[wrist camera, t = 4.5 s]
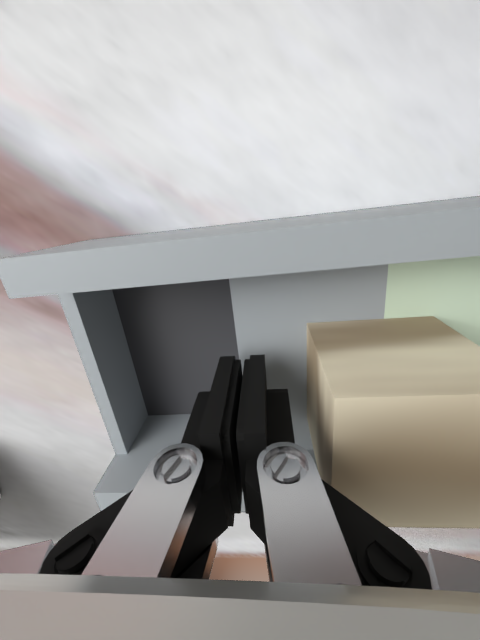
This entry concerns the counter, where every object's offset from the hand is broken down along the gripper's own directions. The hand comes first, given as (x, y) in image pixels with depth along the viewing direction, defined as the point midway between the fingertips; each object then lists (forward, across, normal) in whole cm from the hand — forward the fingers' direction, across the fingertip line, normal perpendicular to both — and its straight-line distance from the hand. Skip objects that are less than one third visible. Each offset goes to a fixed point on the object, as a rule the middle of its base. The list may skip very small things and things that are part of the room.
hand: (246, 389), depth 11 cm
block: (+1, -5, 0) cm, 5 cm away
